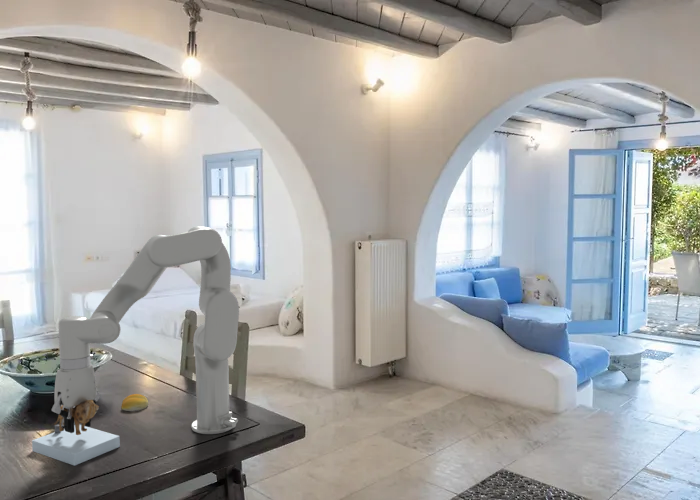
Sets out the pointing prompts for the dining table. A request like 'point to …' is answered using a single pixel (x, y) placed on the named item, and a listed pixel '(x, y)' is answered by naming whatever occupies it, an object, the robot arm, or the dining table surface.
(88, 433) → the plinth
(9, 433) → the dining table surface
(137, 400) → the bread roll
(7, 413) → the dining table surface
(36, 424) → the dining table surface
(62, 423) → the lion figurine
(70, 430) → the robot arm
